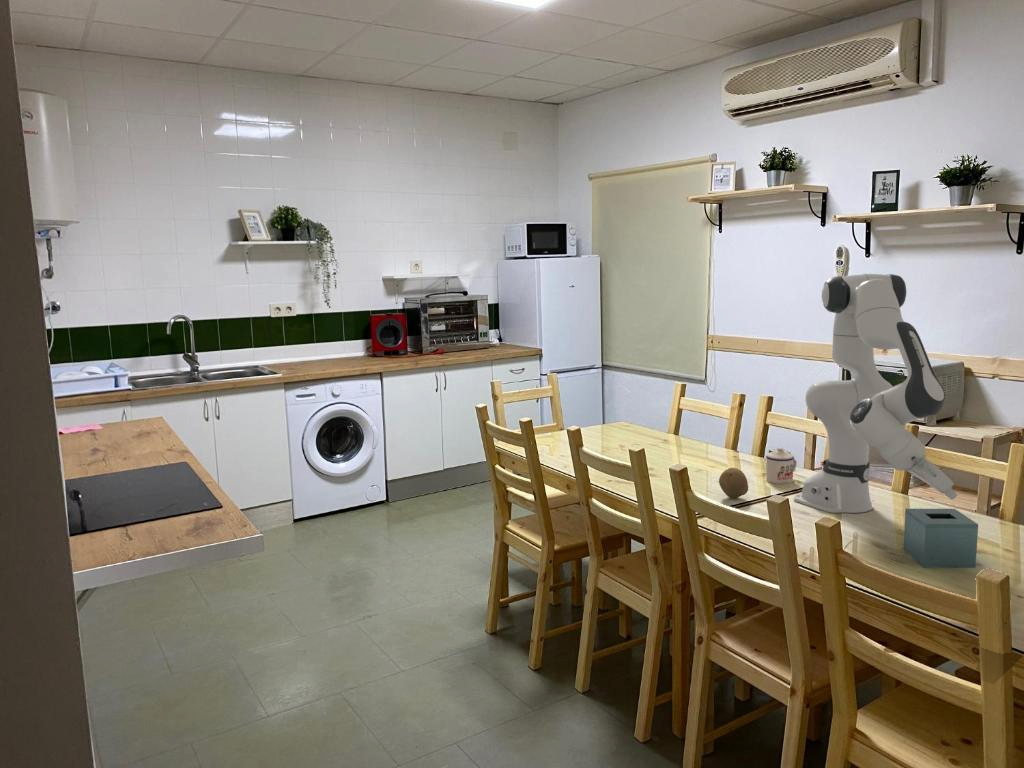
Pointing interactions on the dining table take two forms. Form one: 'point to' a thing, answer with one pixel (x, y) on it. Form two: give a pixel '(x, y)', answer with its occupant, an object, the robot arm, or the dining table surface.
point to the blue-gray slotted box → (940, 538)
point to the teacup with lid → (780, 467)
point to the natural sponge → (733, 483)
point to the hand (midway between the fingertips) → (944, 491)
